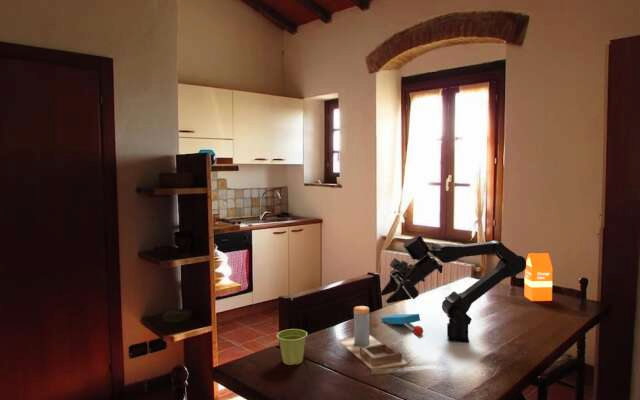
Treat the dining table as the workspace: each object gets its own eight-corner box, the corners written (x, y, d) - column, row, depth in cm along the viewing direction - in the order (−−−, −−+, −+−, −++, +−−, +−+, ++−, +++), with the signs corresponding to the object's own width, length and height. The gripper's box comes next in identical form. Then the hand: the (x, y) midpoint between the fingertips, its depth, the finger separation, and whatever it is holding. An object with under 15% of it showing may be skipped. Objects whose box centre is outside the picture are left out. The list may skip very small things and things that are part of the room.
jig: (337, 342, 163) (337, 332, 163) (369, 337, 168) (369, 327, 167) (372, 373, 139) (372, 361, 139) (408, 366, 143) (408, 355, 143)
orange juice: (552, 300, 207) (552, 254, 206) (531, 301, 207) (532, 255, 206) (543, 295, 215) (544, 251, 214) (524, 296, 215) (524, 251, 214)
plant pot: (296, 370, 142) (295, 341, 142) (271, 363, 147) (270, 336, 147) (313, 359, 150) (313, 332, 149) (289, 353, 155) (288, 327, 154)
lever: (383, 336, 182) (414, 337, 166) (380, 317, 183) (411, 317, 168) (398, 333, 185) (429, 333, 170) (394, 314, 186) (425, 313, 171)
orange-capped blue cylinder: (367, 340, 162) (366, 305, 161) (371, 345, 157) (370, 309, 156) (352, 341, 161) (352, 306, 161) (356, 347, 157) (355, 311, 156)
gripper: (399, 246, 171) (364, 273, 170) (414, 256, 152) (375, 286, 152) (417, 271, 172) (383, 297, 171) (434, 284, 153) (395, 314, 153)
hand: (383, 298), depth 162 cm, fingers open, 9 cm apart
